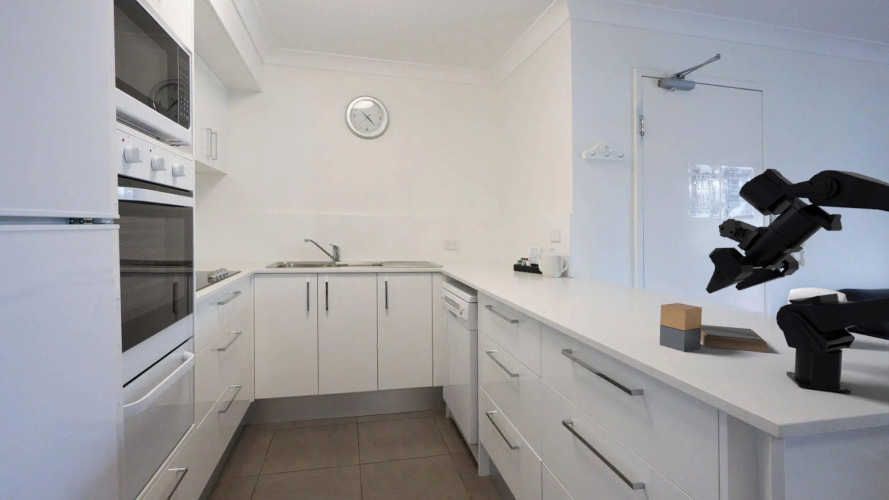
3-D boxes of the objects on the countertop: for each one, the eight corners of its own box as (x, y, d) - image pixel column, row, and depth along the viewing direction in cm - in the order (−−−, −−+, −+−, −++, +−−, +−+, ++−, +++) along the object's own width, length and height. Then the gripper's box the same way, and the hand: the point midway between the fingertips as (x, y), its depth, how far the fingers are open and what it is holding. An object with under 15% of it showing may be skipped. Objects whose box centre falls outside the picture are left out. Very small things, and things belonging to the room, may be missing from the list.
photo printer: (783, 338, 96) (786, 286, 95) (788, 335, 99) (790, 284, 98) (844, 348, 88) (847, 291, 87) (847, 345, 91) (850, 289, 90)
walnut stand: (766, 352, 85) (766, 340, 85) (704, 346, 90) (705, 334, 90) (752, 339, 95) (752, 328, 95) (697, 334, 100) (697, 323, 100)
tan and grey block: (700, 348, 88) (701, 307, 88) (684, 352, 86) (685, 309, 85) (675, 341, 93) (677, 302, 93) (659, 345, 91) (660, 305, 90)
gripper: (779, 205, 81) (722, 259, 91) (718, 202, 73) (664, 262, 83) (830, 244, 74) (762, 298, 84) (769, 246, 66) (703, 306, 76)
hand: (722, 290), depth 82 cm, fingers open, 9 cm apart
